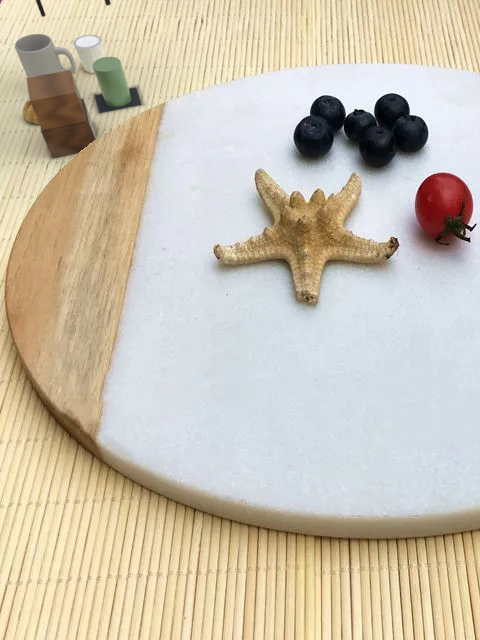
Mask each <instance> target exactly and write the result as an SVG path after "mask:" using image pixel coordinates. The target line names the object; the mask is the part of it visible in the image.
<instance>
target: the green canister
mask: <svg viewBox="0 0 480 640" xmlns="http://www.w3.org/2000/svg"><path fill="white" fill-rule="evenodd" d="M93 69H94V72H95V73H94V75H95V78H96V81H97V84H98V87H99V89H100V90H99V91H100V92H101V93H100V94H102V96H103V99H104V101H105V104H106V105H108V106H110V107H121V106H124V105H127V104H128V103H129V102H130V101H131V99H132V97H131V93H130V90H129V89H130V86H129V84H128V81H127V76H126V75H125V70H124V68H123V63H122V61H121V60H120V59H119V58H118V57H115V56H106V57H103V58H100V59H98V60H96V61H95V62H94V63H93Z"/></svg>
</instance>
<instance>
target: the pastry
mask: <svg viewBox="0 0 480 640" xmlns="http://www.w3.org/2000/svg"><path fill="white" fill-rule="evenodd" d="M22 117H23V119H24V120H25V121H26V122H28V123H29V124H34V125H35V126H36V125H40V123H39V120H38V118H37V116H36V114H35V111H34V109H33V107H32V105H31V102H30V99H28V100H27V101H25V103H24V105H23V107H22Z"/></svg>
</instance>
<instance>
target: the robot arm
mask: <svg viewBox="0 0 480 640" xmlns="http://www.w3.org/2000/svg"><path fill="white" fill-rule="evenodd" d="M35 2H36V5H37V8H38V11H39V14H40V16H41V18H43V17H46V12H45V10H44V7H43V4H42V1H41V0H35ZM104 4H105V6H106V7H109V6H110V5H111V0H104Z"/></svg>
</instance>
